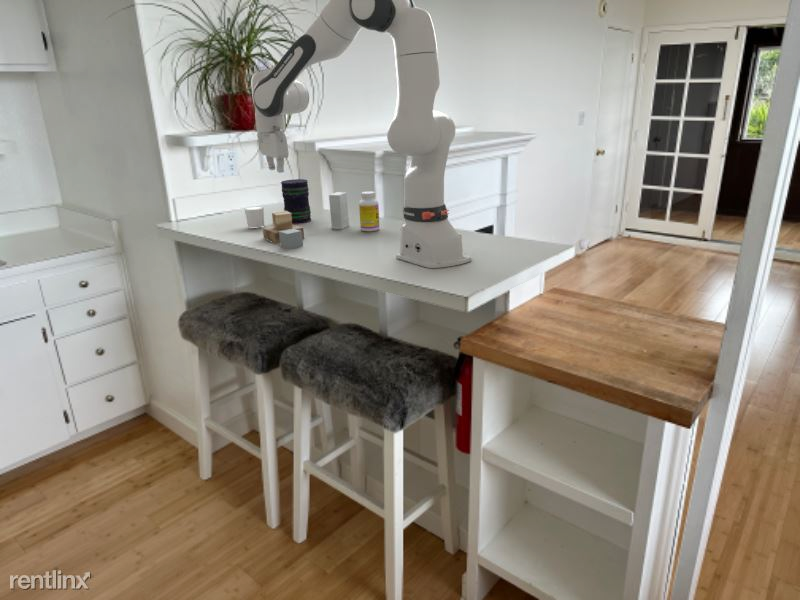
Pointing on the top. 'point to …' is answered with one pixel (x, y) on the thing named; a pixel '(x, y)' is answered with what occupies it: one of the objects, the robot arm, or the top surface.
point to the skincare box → (339, 210)
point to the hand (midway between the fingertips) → (276, 171)
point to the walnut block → (277, 233)
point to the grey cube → (290, 238)
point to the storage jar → (296, 200)
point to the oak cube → (282, 220)
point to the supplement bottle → (369, 212)
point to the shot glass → (255, 216)
